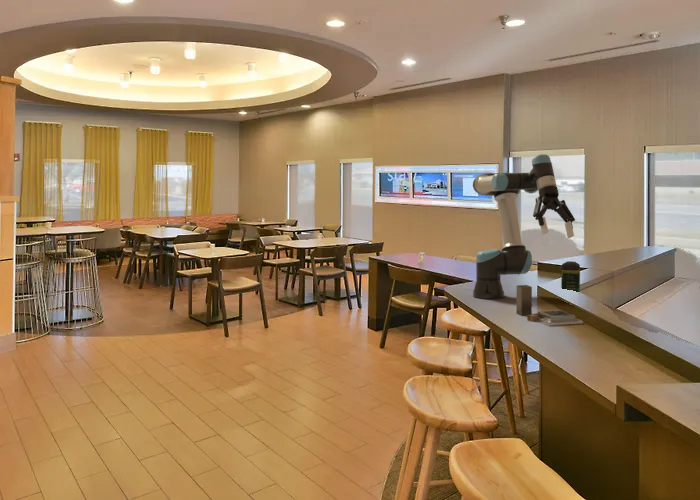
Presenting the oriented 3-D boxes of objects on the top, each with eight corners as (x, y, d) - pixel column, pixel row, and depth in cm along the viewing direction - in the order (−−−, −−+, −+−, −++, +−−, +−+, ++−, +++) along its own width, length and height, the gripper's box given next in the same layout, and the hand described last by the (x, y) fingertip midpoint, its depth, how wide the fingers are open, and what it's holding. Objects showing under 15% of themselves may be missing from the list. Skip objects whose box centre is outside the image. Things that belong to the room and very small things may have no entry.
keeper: (530, 317, 207) (530, 310, 207) (562, 315, 209) (562, 308, 209) (548, 326, 194) (548, 318, 193) (582, 323, 196) (582, 315, 195)
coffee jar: (579, 303, 231) (580, 263, 229) (560, 302, 234) (561, 262, 232) (579, 299, 239) (580, 260, 238) (561, 298, 243) (562, 260, 241)
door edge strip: (527, 320, 204) (527, 315, 204) (553, 314, 212) (553, 309, 212) (532, 321, 202) (532, 316, 201) (558, 315, 210) (558, 310, 209)
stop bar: (516, 313, 216) (516, 285, 215) (526, 312, 216) (526, 285, 215) (521, 315, 211) (521, 287, 210) (531, 315, 212) (531, 286, 211)
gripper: (530, 180, 205) (540, 227, 197) (576, 188, 215) (588, 234, 207) (518, 188, 212) (527, 235, 204) (563, 197, 221) (574, 241, 213)
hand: (558, 235), depth 205 cm, fingers open, 13 cm apart
